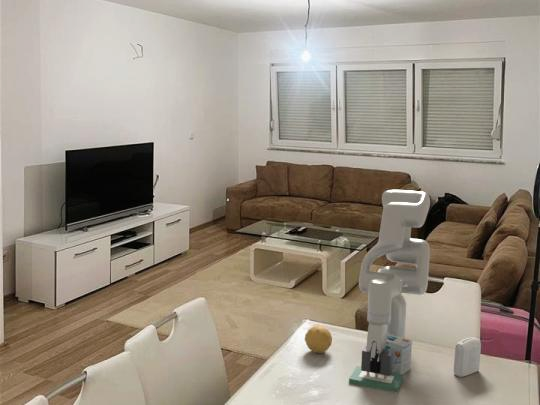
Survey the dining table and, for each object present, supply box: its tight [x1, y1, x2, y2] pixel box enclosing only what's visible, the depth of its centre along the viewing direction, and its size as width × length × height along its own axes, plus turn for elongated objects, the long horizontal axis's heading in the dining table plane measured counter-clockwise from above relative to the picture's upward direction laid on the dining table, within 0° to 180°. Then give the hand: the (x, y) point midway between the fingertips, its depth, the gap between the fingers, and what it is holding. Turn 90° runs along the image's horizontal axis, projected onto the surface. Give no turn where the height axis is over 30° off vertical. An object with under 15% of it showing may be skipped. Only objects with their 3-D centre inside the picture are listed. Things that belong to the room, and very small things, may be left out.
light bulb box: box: [384, 333, 413, 375], centre depth 199 cm, size 11×7×11 cm, turn 47°
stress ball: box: [304, 325, 333, 354], centre depth 211 cm, size 10×10×10 cm
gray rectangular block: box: [360, 345, 393, 376], centre depth 188 cm, size 4×9×7 cm, turn 66°
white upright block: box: [453, 336, 482, 378], centre depth 195 cm, size 10×4×12 cm, turn 123°
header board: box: [348, 365, 404, 394], centre depth 190 cm, size 10×16×5 cm, turn 66°
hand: (376, 368), depth 189 cm, fingers closed on gray rectangular block, 4 cm apart
